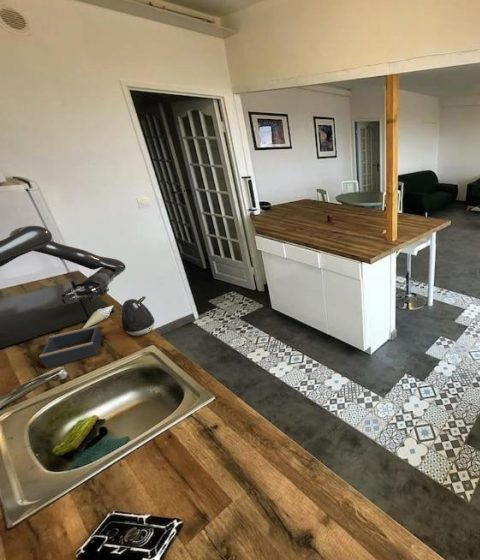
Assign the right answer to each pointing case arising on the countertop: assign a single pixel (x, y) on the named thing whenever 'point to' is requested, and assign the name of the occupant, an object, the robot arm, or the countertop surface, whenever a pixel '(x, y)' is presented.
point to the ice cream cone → (98, 316)
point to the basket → (57, 357)
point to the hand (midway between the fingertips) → (76, 300)
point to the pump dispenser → (136, 317)
